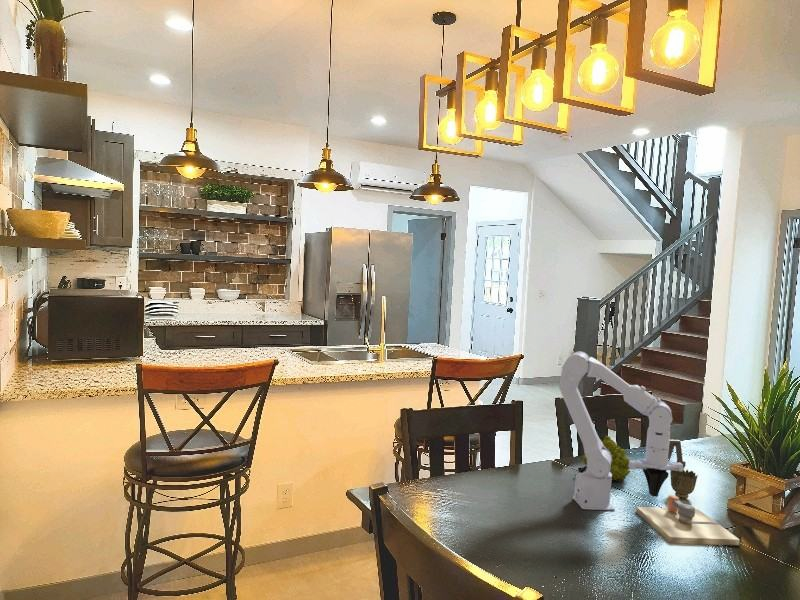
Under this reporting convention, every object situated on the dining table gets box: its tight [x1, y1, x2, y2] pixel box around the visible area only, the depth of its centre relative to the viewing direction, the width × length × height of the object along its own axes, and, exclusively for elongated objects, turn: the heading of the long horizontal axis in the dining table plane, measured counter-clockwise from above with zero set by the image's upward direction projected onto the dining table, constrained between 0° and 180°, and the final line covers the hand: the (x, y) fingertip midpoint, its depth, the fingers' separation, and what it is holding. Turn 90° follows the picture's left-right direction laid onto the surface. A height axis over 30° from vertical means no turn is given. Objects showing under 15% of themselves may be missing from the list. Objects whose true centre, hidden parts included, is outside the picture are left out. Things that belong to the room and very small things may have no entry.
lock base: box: [636, 506, 740, 546], centre depth 153 cm, size 18×18×4 cm
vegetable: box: [577, 435, 631, 482], centre depth 187 cm, size 15×16×15 cm
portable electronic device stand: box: [668, 438, 686, 468], centre depth 207 cm, size 9×8×8 cm
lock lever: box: [666, 494, 696, 518], centre depth 156 cm, size 10×4×4 cm, turn 3°
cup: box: [669, 468, 699, 500], centre depth 174 cm, size 8×7×8 cm
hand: (653, 495), depth 159 cm, fingers closed
